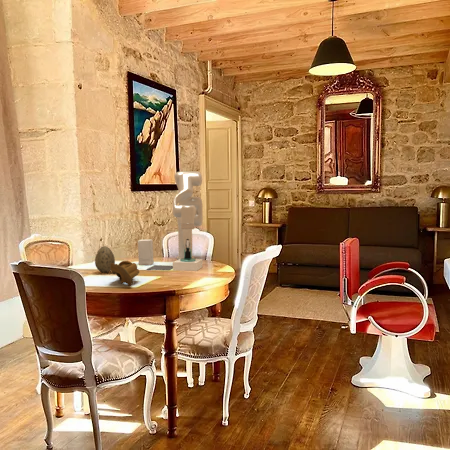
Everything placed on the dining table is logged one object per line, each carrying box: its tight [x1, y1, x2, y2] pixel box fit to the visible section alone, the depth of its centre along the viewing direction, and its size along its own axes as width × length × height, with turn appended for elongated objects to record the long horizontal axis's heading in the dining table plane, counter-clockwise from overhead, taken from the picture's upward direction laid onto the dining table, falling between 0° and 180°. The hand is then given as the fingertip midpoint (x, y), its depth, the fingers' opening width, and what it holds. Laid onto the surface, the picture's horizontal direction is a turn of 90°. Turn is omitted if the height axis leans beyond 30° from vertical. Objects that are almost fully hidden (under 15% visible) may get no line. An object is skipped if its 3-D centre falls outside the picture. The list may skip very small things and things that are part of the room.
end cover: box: [180, 248, 197, 262], centre depth 253 cm, size 9×9×12 cm
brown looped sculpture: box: [110, 260, 140, 287], centre depth 213 cm, size 18×13×22 cm
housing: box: [172, 258, 203, 272], centre depth 253 cm, size 14×14×5 cm
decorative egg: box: [94, 245, 116, 274], centre depth 242 cm, size 11×11×15 cm
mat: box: [146, 264, 173, 271], centre depth 256 cm, size 14×14×1 cm
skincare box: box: [137, 238, 154, 266], centre depth 271 cm, size 8×7×16 cm
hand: (187, 257), depth 253 cm, fingers closed on end cover, 4 cm apart
